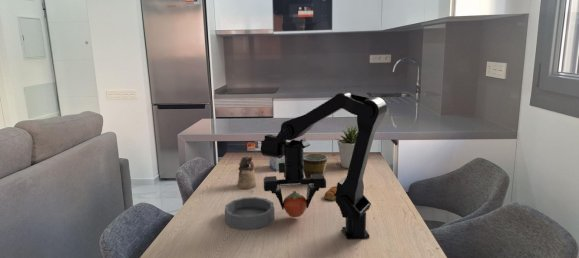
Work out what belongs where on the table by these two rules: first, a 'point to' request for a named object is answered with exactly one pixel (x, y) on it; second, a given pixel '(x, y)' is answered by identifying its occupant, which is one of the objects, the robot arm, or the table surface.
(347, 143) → the potted plant
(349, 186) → the robot arm
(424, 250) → the table surface
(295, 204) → the tomato
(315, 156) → the ceramic cup
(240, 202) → the bowl
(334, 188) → the pastry
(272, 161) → the medicine box
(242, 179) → the figurine
